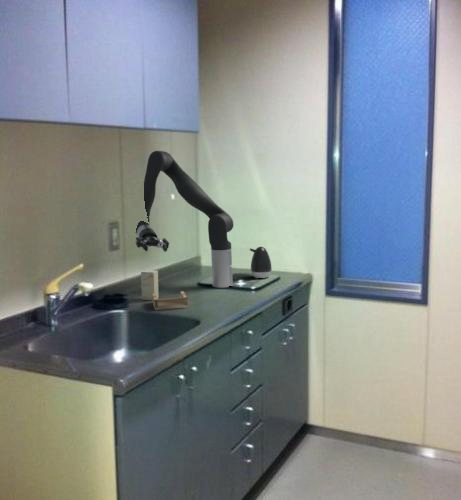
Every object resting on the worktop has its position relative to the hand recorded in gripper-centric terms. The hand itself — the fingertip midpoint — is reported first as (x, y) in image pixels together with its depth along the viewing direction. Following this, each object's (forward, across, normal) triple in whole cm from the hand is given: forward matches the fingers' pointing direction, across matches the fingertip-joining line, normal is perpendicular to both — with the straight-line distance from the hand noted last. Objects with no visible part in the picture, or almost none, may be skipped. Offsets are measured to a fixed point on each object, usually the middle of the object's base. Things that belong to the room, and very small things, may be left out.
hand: (156, 249), depth 276 cm
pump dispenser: (-4, +56, +15) cm, 59 cm away
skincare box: (+13, -4, +18) cm, 22 cm away
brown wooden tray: (+26, 0, +13) cm, 30 cm away
